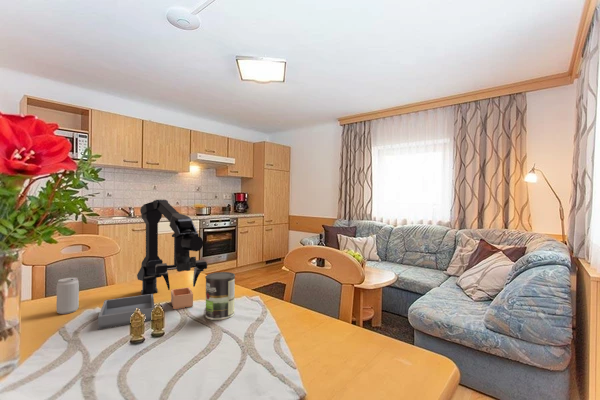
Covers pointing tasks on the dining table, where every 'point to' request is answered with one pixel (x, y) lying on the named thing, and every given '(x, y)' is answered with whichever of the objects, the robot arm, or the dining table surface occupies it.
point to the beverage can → (67, 295)
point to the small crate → (181, 298)
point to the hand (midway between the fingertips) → (181, 288)
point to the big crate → (124, 310)
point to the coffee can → (220, 295)
